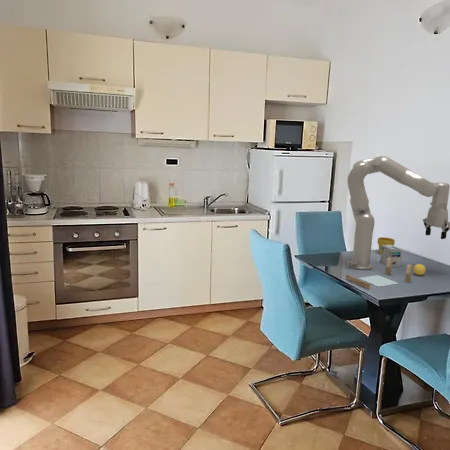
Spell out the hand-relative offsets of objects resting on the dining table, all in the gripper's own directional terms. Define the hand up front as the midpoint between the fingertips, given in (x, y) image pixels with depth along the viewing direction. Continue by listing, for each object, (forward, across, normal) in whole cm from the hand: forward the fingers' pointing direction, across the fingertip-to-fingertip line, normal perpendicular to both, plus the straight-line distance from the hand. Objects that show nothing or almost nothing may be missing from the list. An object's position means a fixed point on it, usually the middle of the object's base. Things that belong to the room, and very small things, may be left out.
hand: (435, 236), depth 227 cm
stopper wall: (+20, 0, -54) cm, 57 cm away
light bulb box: (+21, -21, -9) cm, 31 cm away
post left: (+20, -7, -26) cm, 33 cm away
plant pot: (+21, -41, +8) cm, 47 cm away
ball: (+18, 0, -10) cm, 20 cm away
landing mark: (+20, 0, -40) cm, 45 cm away
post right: (+20, +6, -26) cm, 34 cm away
